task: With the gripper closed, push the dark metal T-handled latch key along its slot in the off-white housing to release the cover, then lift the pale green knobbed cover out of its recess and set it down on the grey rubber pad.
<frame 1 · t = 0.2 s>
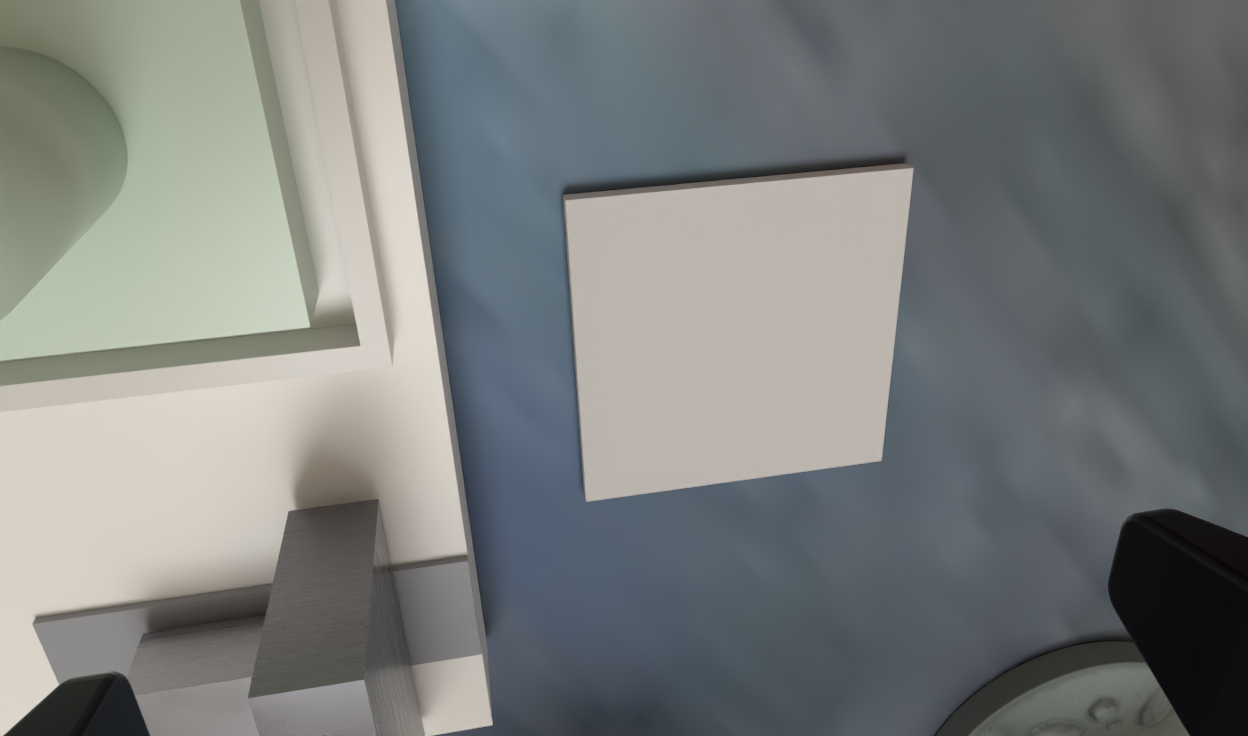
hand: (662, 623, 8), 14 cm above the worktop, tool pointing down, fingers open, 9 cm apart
latch key: (264, 735, 19), point 6 cm above the worktop, slide at 0.0 cm
cover: (59, 120, 16), point 3 cm above the worktop, touching housing
pad: (735, 337, 23), on the worktop
housing: (180, 319, 21), on the worktop
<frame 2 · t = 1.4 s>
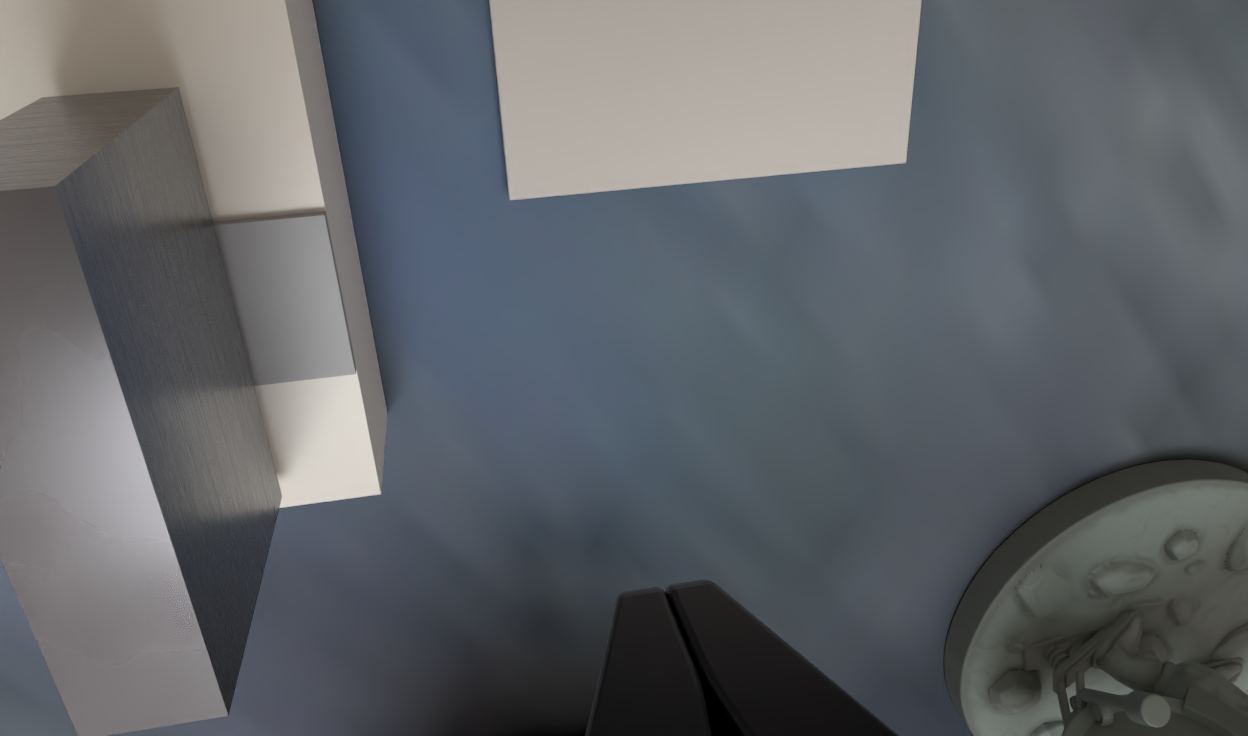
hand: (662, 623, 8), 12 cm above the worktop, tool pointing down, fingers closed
figurine 2: (1109, 610, 27), on the worktop
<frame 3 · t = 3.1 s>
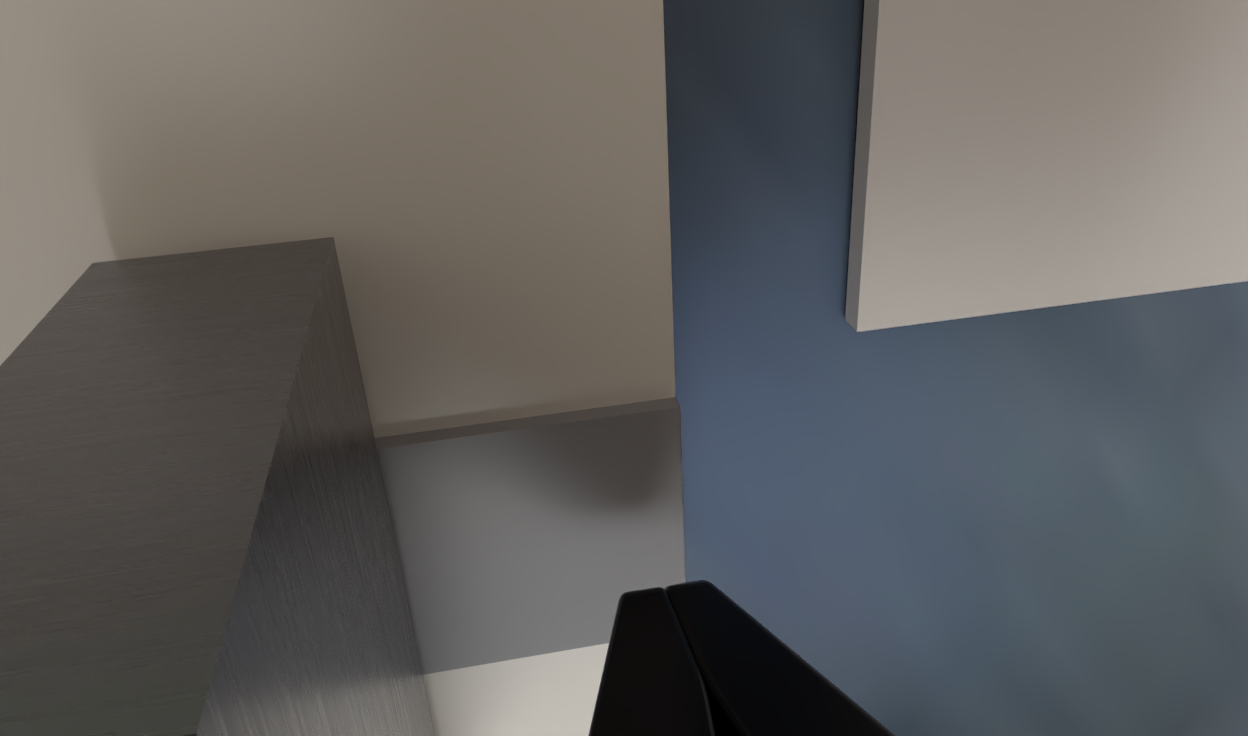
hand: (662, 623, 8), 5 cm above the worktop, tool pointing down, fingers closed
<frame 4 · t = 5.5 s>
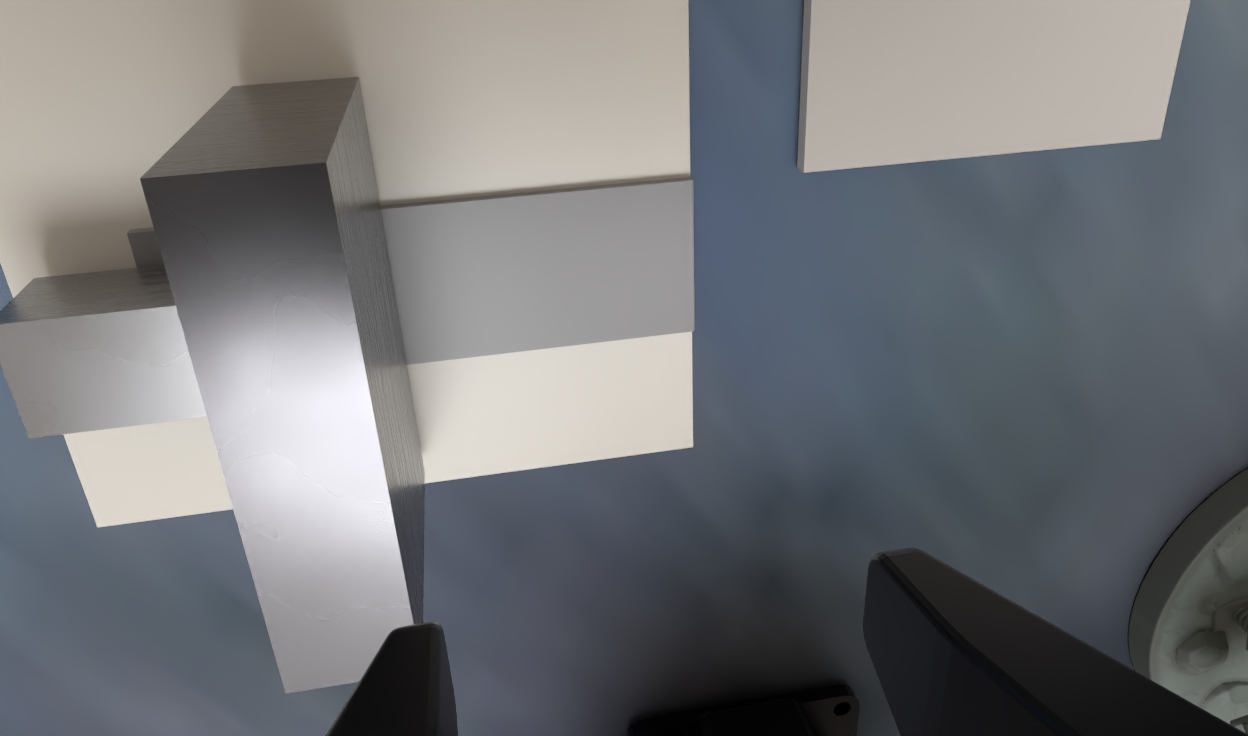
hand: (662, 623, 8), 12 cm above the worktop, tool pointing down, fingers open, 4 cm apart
latch key: (194, 383, 13), point 6 cm above the worktop, slide at 3.5 cm
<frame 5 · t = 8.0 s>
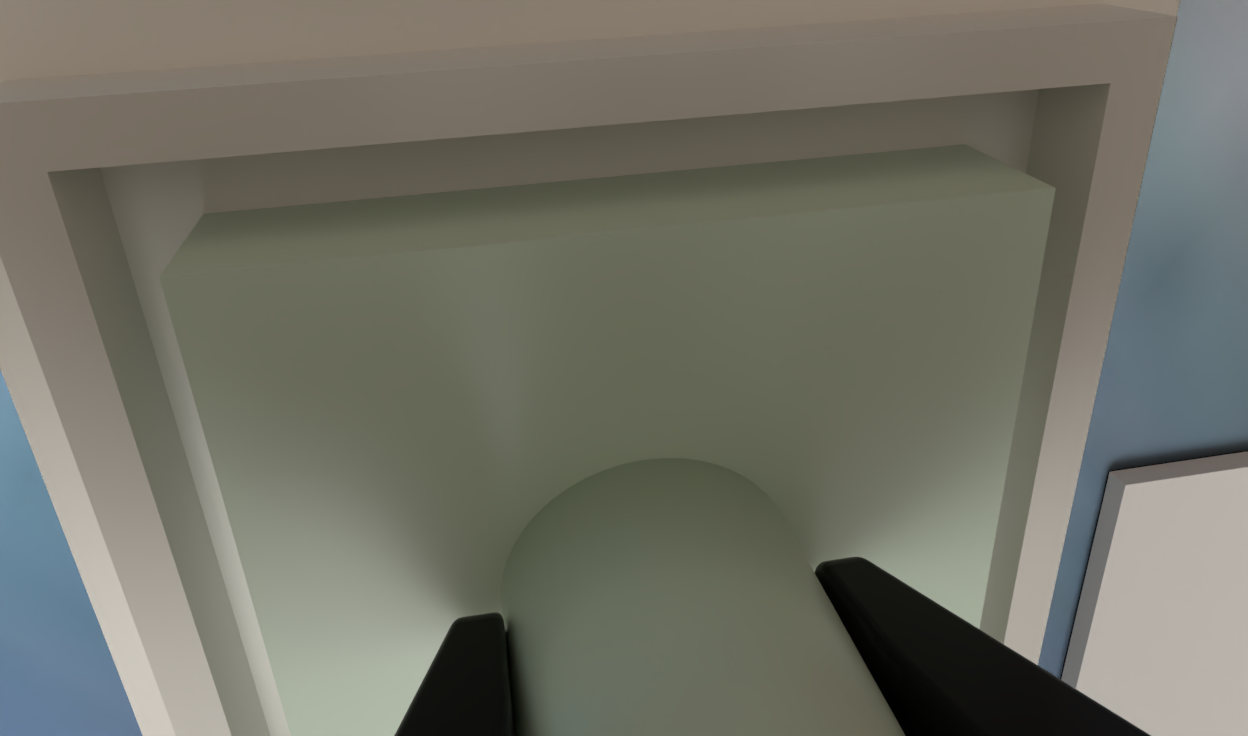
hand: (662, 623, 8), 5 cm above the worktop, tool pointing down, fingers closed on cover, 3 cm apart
cover: (622, 495, 10), point 3 cm above the worktop, touching gripper, housing
housing: (601, 647, 15), on the worktop
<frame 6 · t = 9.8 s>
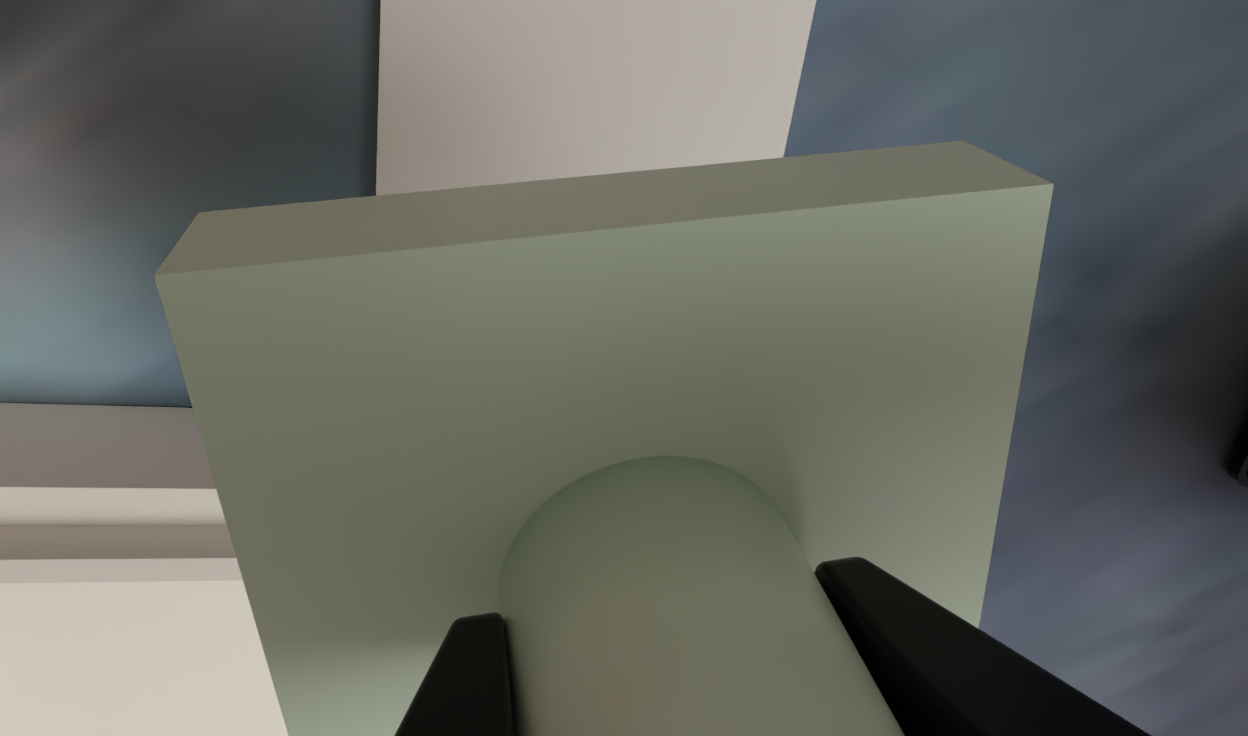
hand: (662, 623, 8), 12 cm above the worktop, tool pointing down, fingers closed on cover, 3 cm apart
cover: (620, 493, 10), point 10 cm above the worktop, touching gripper
pad: (591, 104, 18), on the worktop
housing: (450, 609, 23), on the worktop
when the fingers open (3 cm above the worktop, at t = 11.9 s): cover drops 1 cm, resting on pad.
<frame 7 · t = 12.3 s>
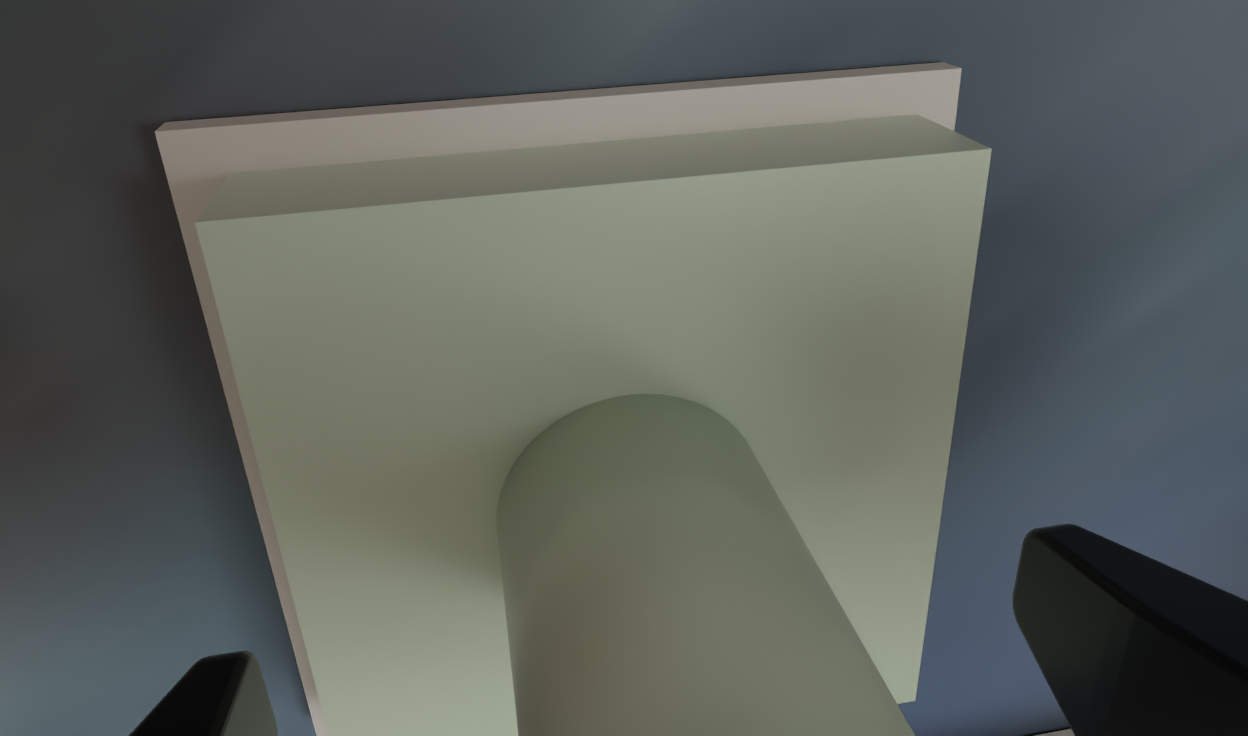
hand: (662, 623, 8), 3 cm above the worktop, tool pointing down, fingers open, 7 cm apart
cover: (608, 439, 11), resting on pad
pad: (597, 426, 11), on the worktop
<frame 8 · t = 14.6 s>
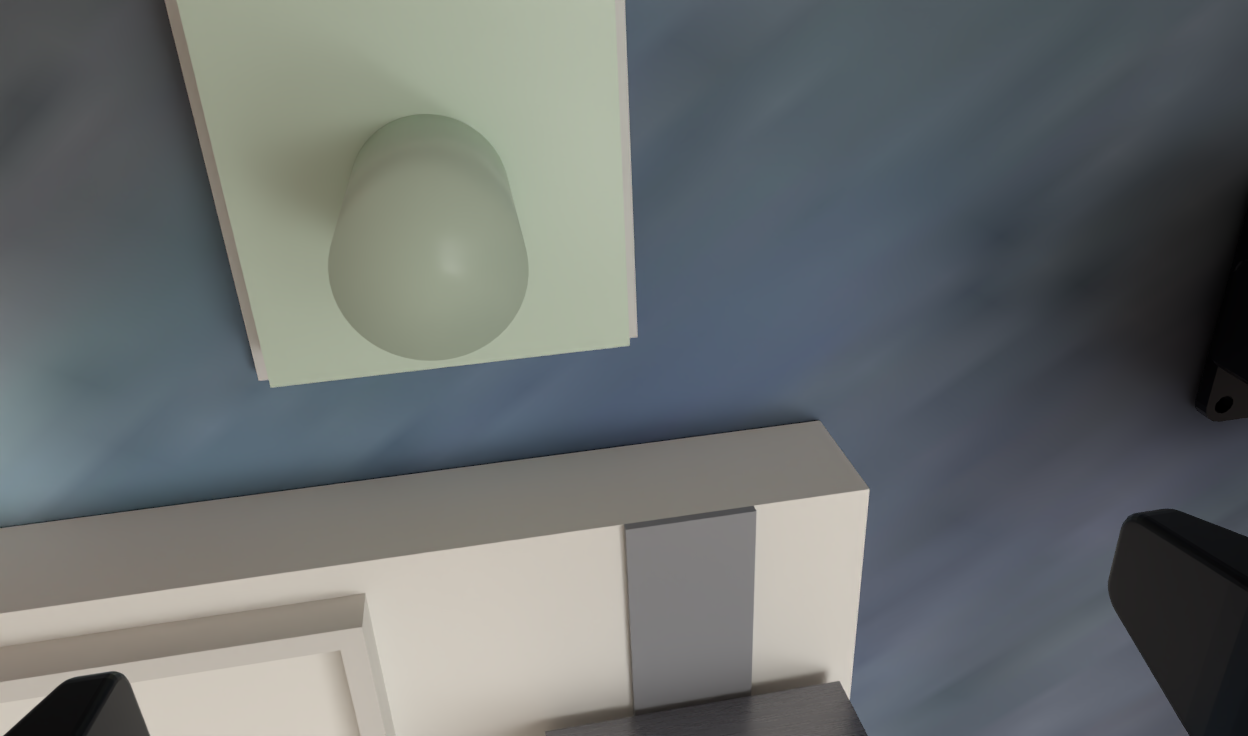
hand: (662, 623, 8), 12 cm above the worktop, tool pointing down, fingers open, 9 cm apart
cover: (430, 171, 18), resting on pad
pad: (428, 168, 19), on the worktop
housing: (415, 657, 24), on the worktop
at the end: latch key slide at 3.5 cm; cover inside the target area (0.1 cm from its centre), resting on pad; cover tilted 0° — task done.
